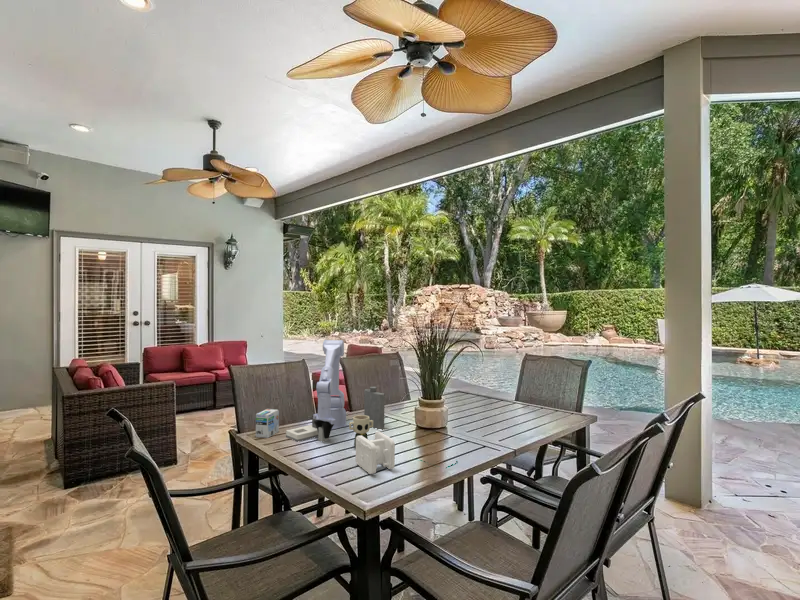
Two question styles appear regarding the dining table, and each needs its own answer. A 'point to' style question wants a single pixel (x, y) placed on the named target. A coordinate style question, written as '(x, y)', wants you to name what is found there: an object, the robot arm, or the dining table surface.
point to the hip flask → (374, 407)
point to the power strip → (302, 433)
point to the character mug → (360, 426)
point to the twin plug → (313, 423)
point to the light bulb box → (267, 423)
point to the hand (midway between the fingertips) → (324, 437)
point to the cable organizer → (375, 452)
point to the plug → (322, 435)
